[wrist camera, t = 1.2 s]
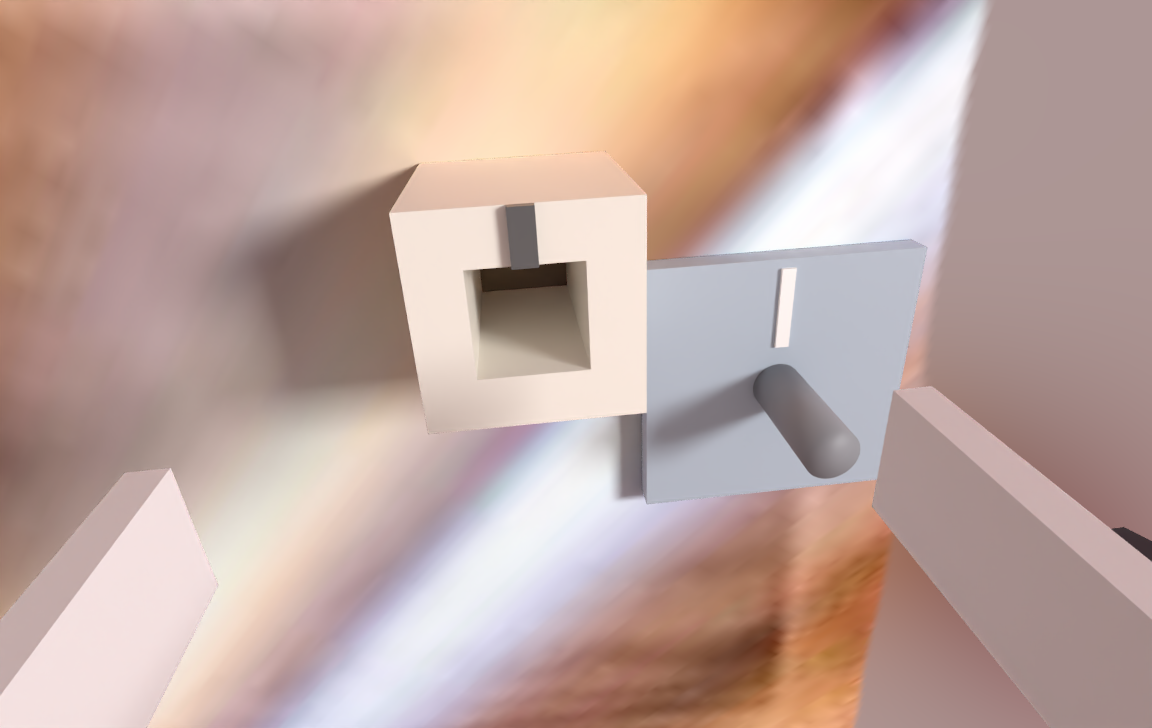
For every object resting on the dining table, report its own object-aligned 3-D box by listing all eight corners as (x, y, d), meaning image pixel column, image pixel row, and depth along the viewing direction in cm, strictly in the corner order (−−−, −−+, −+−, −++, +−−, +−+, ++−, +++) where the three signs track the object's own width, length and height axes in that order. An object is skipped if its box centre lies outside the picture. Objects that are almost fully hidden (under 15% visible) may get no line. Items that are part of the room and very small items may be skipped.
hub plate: (642, 489, 33) (674, 589, 27) (641, 261, 28) (680, 323, 22) (869, 465, 34) (949, 557, 28) (911, 239, 29) (1021, 293, 23)
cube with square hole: (445, 334, 28) (427, 439, 21) (419, 163, 25) (387, 216, 18) (610, 320, 29) (648, 417, 22) (605, 150, 26) (649, 196, 18)
